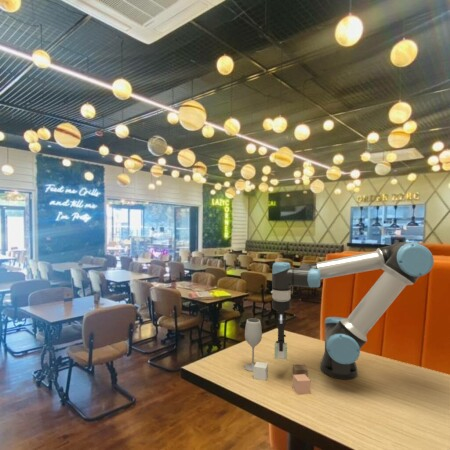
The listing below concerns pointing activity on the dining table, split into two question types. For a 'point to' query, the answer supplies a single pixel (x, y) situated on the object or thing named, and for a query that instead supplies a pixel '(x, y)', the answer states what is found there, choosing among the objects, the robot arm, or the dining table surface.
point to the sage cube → (277, 350)
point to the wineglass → (252, 337)
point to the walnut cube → (299, 369)
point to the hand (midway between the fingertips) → (280, 355)
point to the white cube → (260, 371)
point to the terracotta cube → (301, 384)
